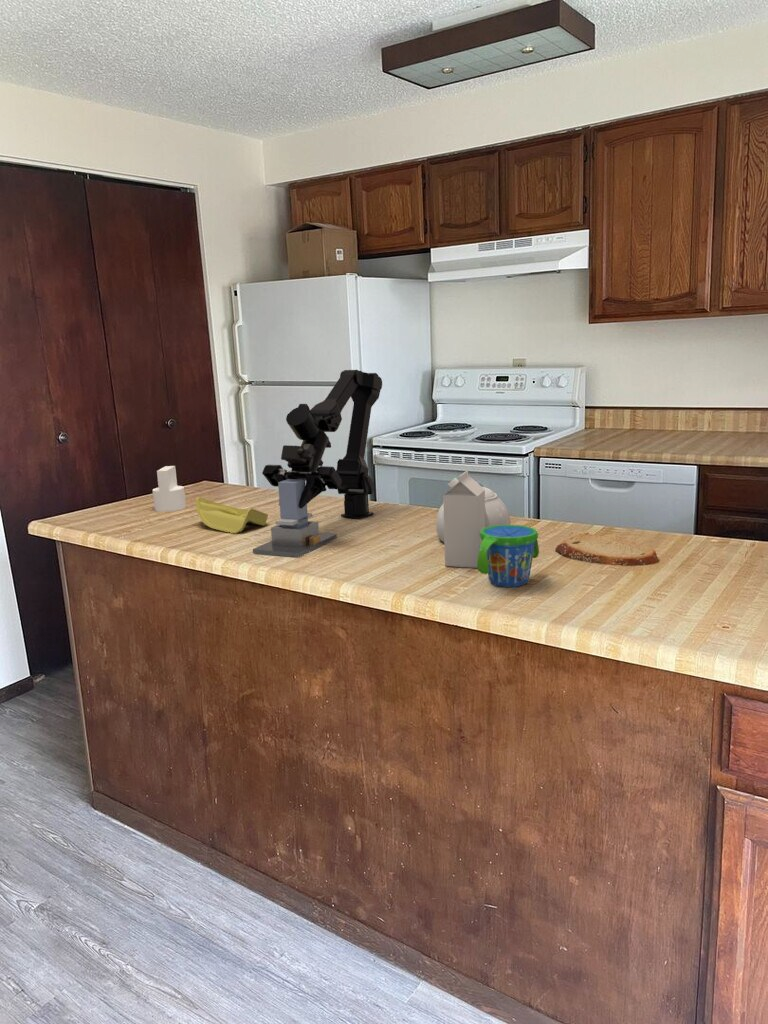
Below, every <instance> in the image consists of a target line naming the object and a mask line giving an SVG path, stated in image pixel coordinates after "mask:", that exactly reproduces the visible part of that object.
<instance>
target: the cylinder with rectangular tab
mask: <svg viewBox="0 0 768 1024" xmlns="http://www.w3.org/2000/svg"><path fill="white" fill-rule="evenodd" d="M156 476H157V485H158V487H156V488H153V489H152V497H153V507H154V511H156V512H159V513H161V512H162V513H163V512H164V513H166V512H169V513H170V512H176V511H181V510H185V509H186V508H187V505H186V504H187V503H186V495H185V487H184V486H182V485H178V480H177V470H176V465H169V466H168V465H165V466H163V467H161V468H160V469H158V470H156Z"/></svg>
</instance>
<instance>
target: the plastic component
mask: <svg viewBox="0 0 768 1024" xmlns="http://www.w3.org/2000/svg"><path fill="white" fill-rule="evenodd" d="M195 507H196V513H197V515H198V516H199V519H200V520H201V521H202V522H203V524H204V525H206V526H207V527H209V528H211V529H214V530H217V531H221V532H225V533H229V532H230V533H229V534H233V533H237V534H240V533H242V531H243V530H244V529H245V527H246V525H247V523H248V524H251V523H252V524H253V525H256V524H257V525H256V526H260V527H261V526H262V527H265V526H266V524H267V520H268V517H269V514H268V513H264V512H262V511H260V510H257V509H254V508H252V507H251V508H248V509H243V508H237V507H233V506H229V505H226V504H222V503H219V502H218V503H217V502H215V501H212V500H209V499H206V498H204V497H202V496H201V497H200V496H197V497H196V498H195ZM252 524H251V525H252ZM264 525H265V526H264ZM239 532H240V533H239Z"/></svg>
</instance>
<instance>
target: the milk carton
mask: <svg viewBox="0 0 768 1024" xmlns="http://www.w3.org/2000/svg"><path fill="white" fill-rule="evenodd" d="M447 485H448V486H449V488H450V489H449V490H448V491H447V492H445V493H444V494H443V497H442V498H443V499H442V501H443V503H442V504H443V508H444V542H443V543H444V565H445V566H444V567H456V568H474V569H475V568H476V569H478V568H477V561H478V555H479V549H480V545H481V543H482V539H481V537H480V532H481V530H482V529H484V528H485V489H484V488H482V487H483V486H481V485H480V484H479V482H478V483H477V481H476V480H474V479H473V478H472V477H471V475H469V470H468V469H467V470H465V471H464V472H462V473H461V474H460V475H459V480H458V478H457V477H454V478H453V479H452V480H451V481H450V482H448V483H447Z"/></svg>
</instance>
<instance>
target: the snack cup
mask: <svg viewBox="0 0 768 1024" xmlns="http://www.w3.org/2000/svg"><path fill="white" fill-rule="evenodd" d="M480 537H481V539H482V543H481V545H480V549H479V555H478V561H477V568H476V569H477V571H478V572H480V573H481V574H483V575H488V580H489V581H490V583H492V584H493V585H495V586H497V587H503V588H504V587H506V588H512V587H516V588H517V587H519V586H523V585H525V584H526V583H529V582H530V581H529V580H530V576H531V569H532V566H533V565H532V564H533V559H536V558H538V557H539V554H540V547H539V546H540V545H539V541H538V538H539V533H538V531H537V529H535V528H533V527H530V526H526V525H520V524H518V525H517V524H510V525H497V526H490V527H486V528H484V529H482V530H481V532H480Z"/></svg>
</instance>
